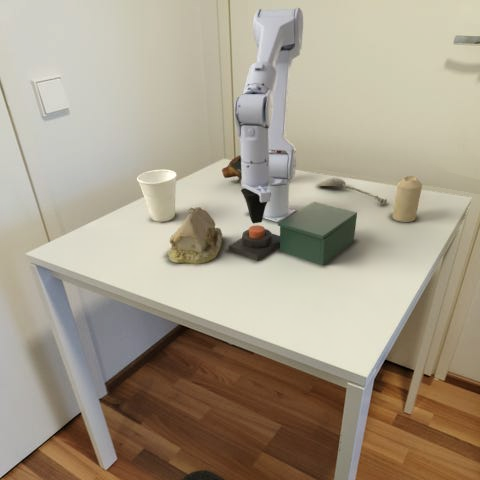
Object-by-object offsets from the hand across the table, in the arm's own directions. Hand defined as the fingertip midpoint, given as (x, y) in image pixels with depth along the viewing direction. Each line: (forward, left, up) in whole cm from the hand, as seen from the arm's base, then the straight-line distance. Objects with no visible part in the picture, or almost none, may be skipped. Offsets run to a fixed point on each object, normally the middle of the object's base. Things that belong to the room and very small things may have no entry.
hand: (256, 221), depth 99 cm
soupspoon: (+2, +40, -6) cm, 40 cm away
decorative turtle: (-29, +32, -2) cm, 43 cm away
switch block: (0, 0, -6) cm, 6 cm away
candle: (+20, +33, -6) cm, 39 cm away
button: (0, 0, -3) cm, 3 cm away
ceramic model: (-11, -9, -6) cm, 15 cm away
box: (+11, +8, -6) cm, 15 cm away
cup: (-31, -1, -6) cm, 31 cm away
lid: (+11, +8, 0) cm, 13 cm away
